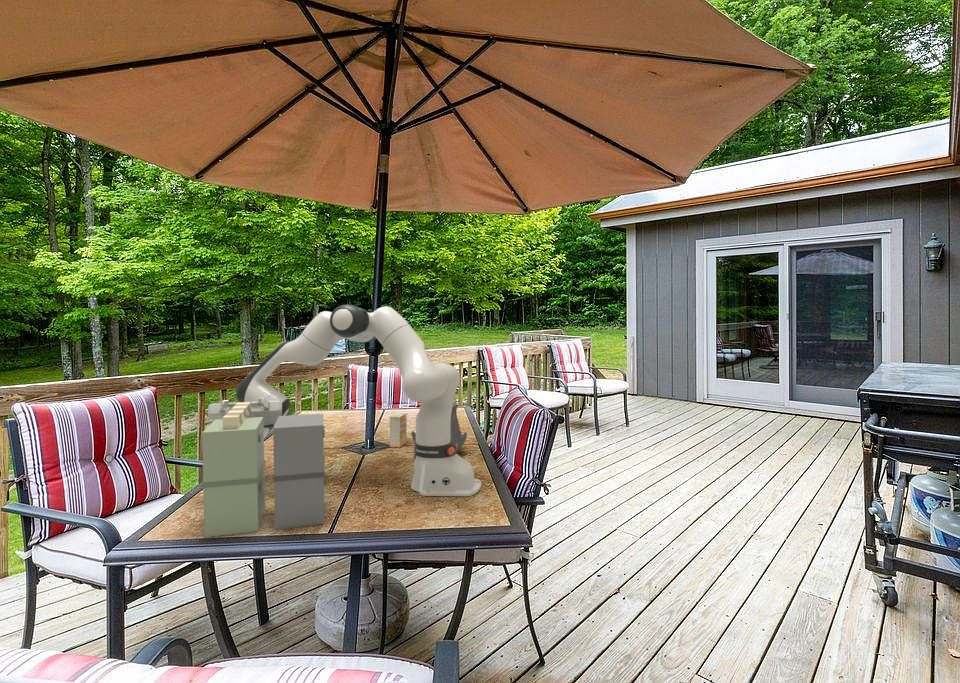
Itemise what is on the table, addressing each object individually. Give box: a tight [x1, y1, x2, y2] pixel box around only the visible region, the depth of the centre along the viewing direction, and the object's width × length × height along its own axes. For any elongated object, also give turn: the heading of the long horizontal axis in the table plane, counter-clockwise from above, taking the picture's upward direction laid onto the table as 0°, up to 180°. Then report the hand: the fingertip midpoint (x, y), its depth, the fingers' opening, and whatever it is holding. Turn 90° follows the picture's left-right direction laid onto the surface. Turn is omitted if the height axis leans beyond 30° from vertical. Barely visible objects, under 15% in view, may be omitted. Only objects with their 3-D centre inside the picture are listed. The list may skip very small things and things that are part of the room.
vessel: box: [410, 401, 468, 453], centre depth 197 cm, size 22×22×20 cm
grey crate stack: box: [272, 413, 326, 530], centre depth 135 cm, size 16×13×26 cm
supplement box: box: [389, 412, 407, 449], centre depth 208 cm, size 8×5×13 cm, turn 168°
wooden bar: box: [223, 401, 251, 429], centre depth 134 cm, size 23×4×3 cm, turn 18°
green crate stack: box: [201, 417, 266, 538], centre depth 130 cm, size 16×13×26 cm
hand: (242, 401), depth 142 cm, fingers open, 8 cm apart
